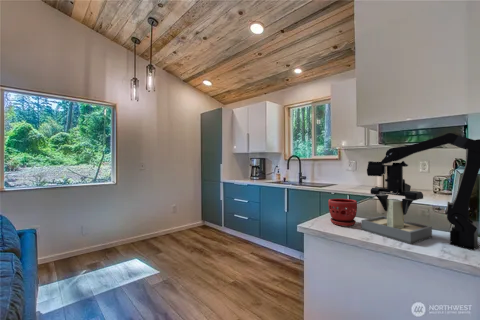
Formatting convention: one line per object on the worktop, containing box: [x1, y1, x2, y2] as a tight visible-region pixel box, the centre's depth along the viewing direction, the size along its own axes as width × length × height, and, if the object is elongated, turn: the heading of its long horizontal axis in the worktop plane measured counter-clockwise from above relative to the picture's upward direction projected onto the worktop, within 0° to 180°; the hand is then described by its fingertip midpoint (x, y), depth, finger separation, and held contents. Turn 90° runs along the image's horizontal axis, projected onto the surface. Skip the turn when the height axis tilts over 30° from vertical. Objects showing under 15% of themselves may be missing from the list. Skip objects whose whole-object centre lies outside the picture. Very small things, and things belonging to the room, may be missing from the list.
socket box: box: [361, 215, 433, 245], centre depth 99 cm, size 20×16×4 cm
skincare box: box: [386, 198, 405, 229], centre depth 98 cm, size 6×4×12 cm
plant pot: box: [327, 198, 358, 227], centre depth 114 cm, size 13×13×12 cm
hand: (395, 212), depth 98 cm, fingers closed on skincare box, 7 cm apart
